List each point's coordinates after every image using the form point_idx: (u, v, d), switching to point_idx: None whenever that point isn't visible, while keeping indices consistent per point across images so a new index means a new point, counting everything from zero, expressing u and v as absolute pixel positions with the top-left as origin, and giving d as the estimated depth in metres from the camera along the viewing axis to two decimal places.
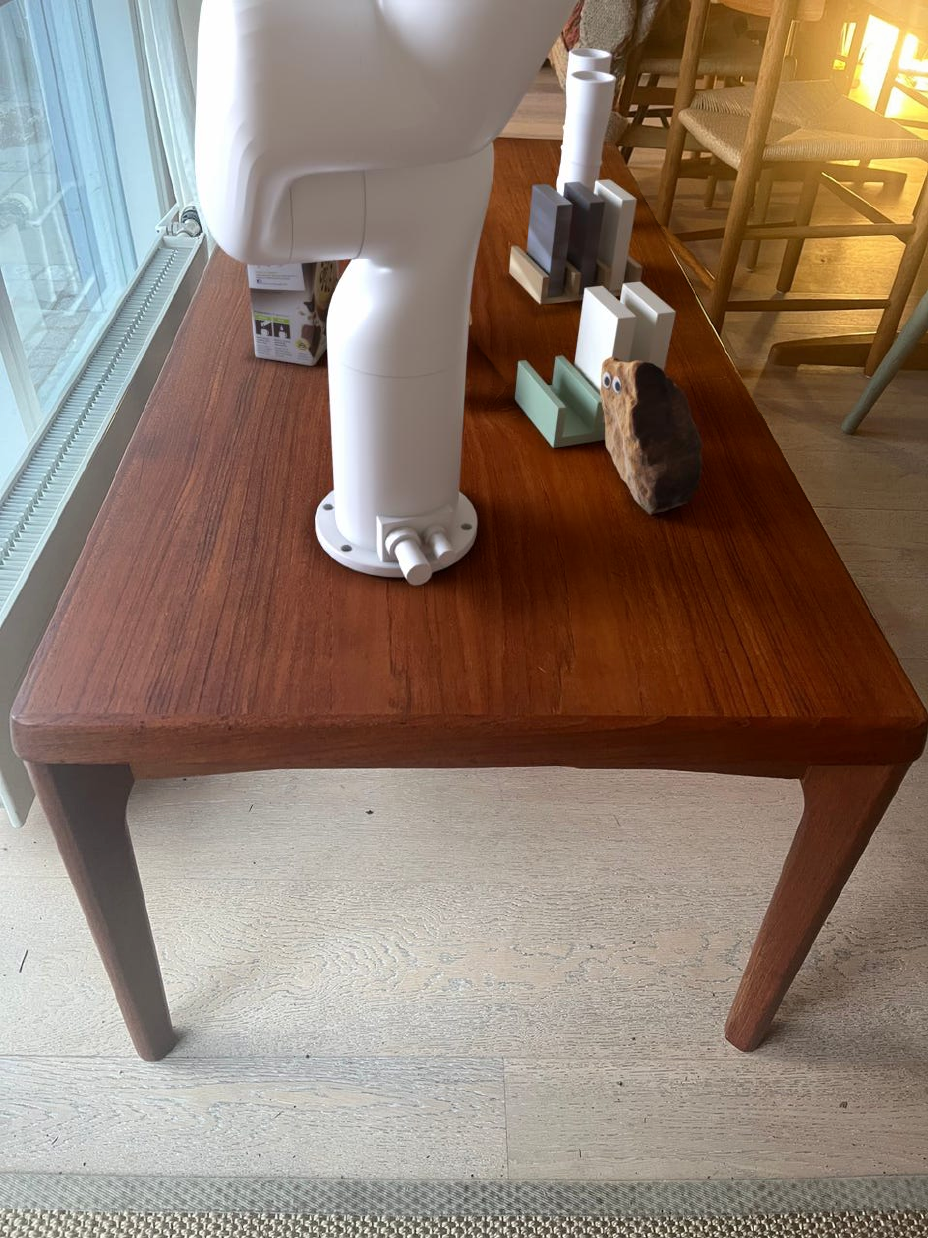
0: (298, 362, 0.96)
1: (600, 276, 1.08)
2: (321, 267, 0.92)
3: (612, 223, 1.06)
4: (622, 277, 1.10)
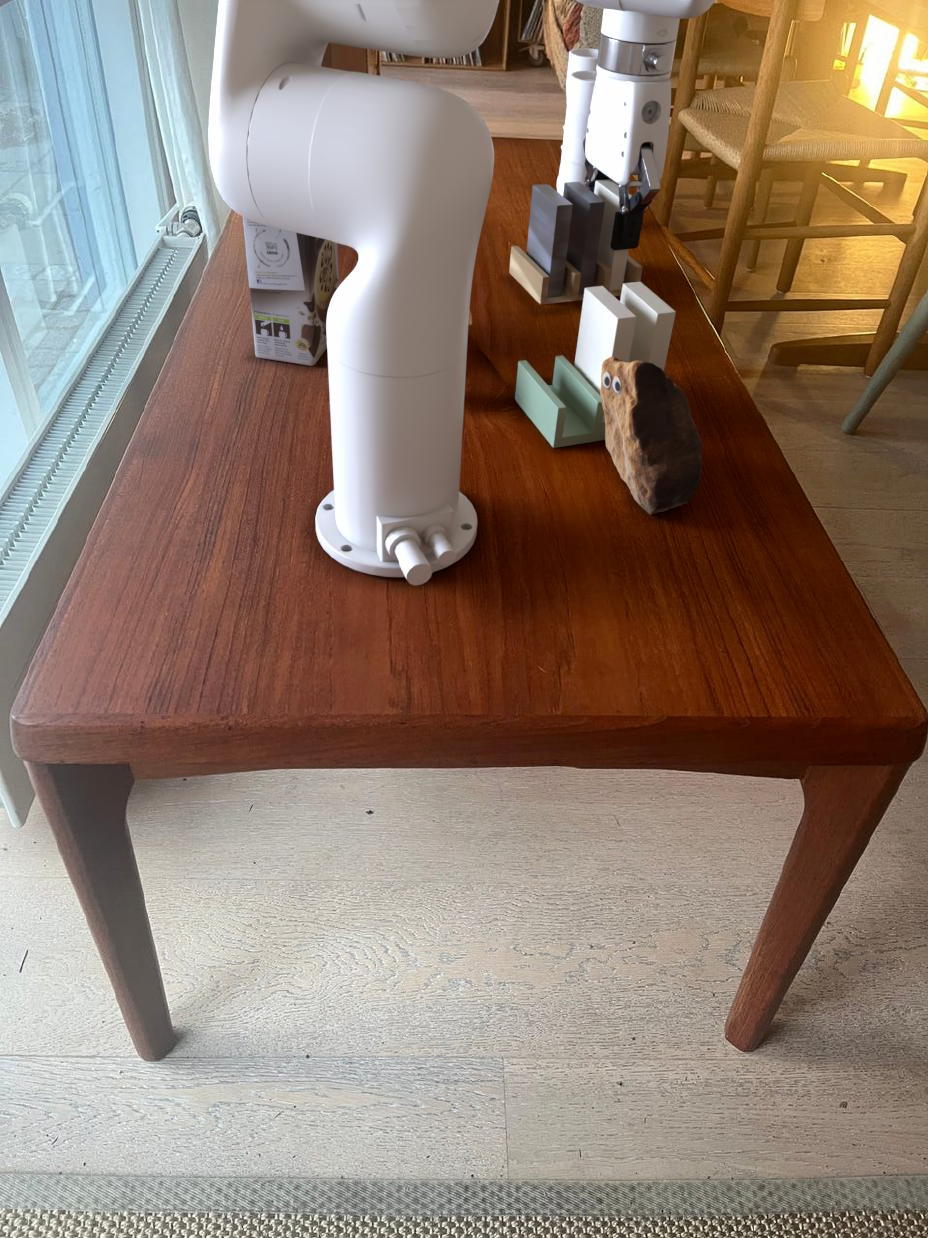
0: (298, 362, 0.96)
1: (600, 276, 1.08)
2: (321, 267, 0.92)
3: (612, 223, 1.06)
4: (622, 277, 1.10)
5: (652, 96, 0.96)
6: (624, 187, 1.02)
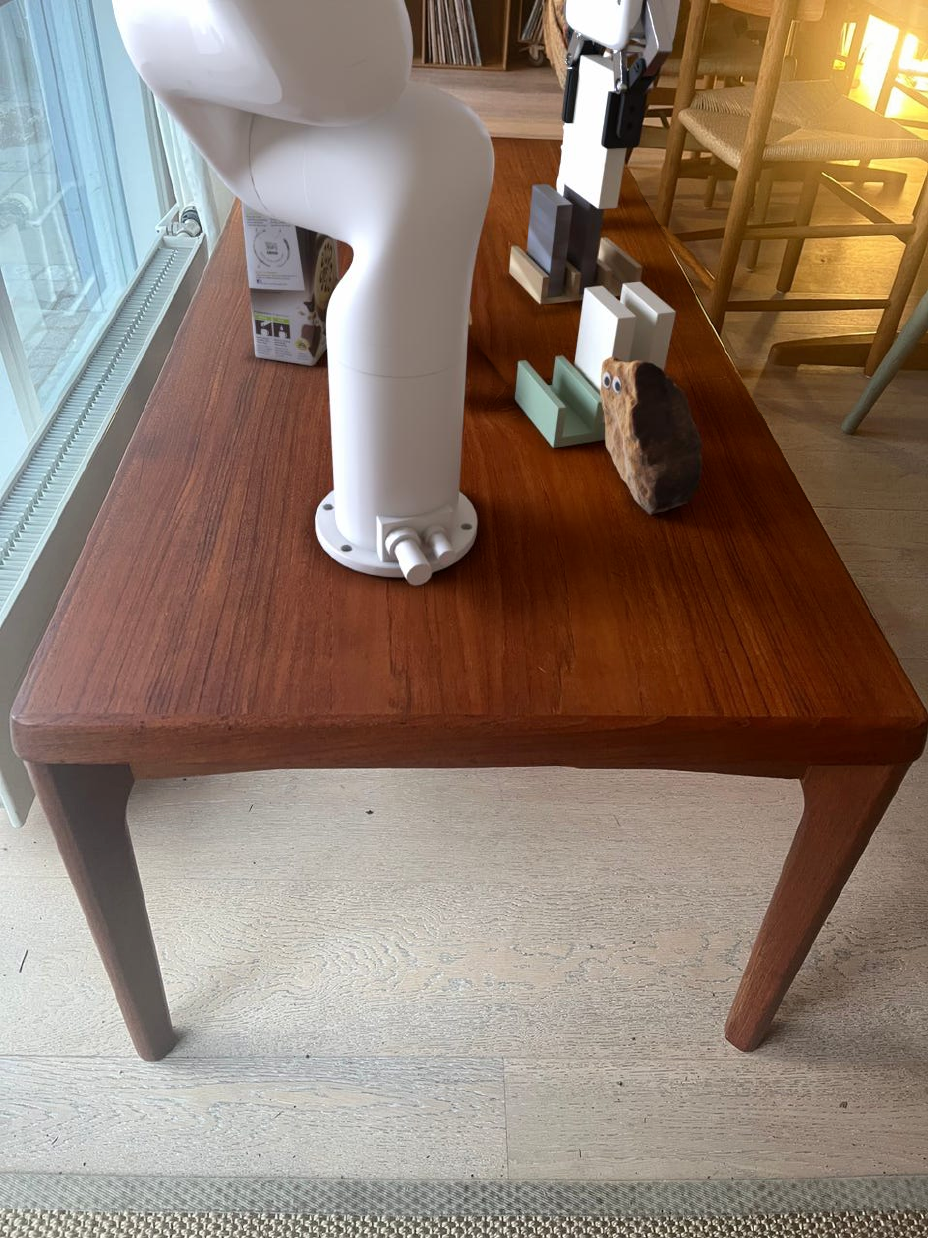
0: (298, 362, 0.96)
1: (600, 276, 1.08)
2: (321, 267, 0.92)
3: (604, 111, 0.77)
4: (617, 190, 0.80)
5: None
6: (621, 53, 0.72)
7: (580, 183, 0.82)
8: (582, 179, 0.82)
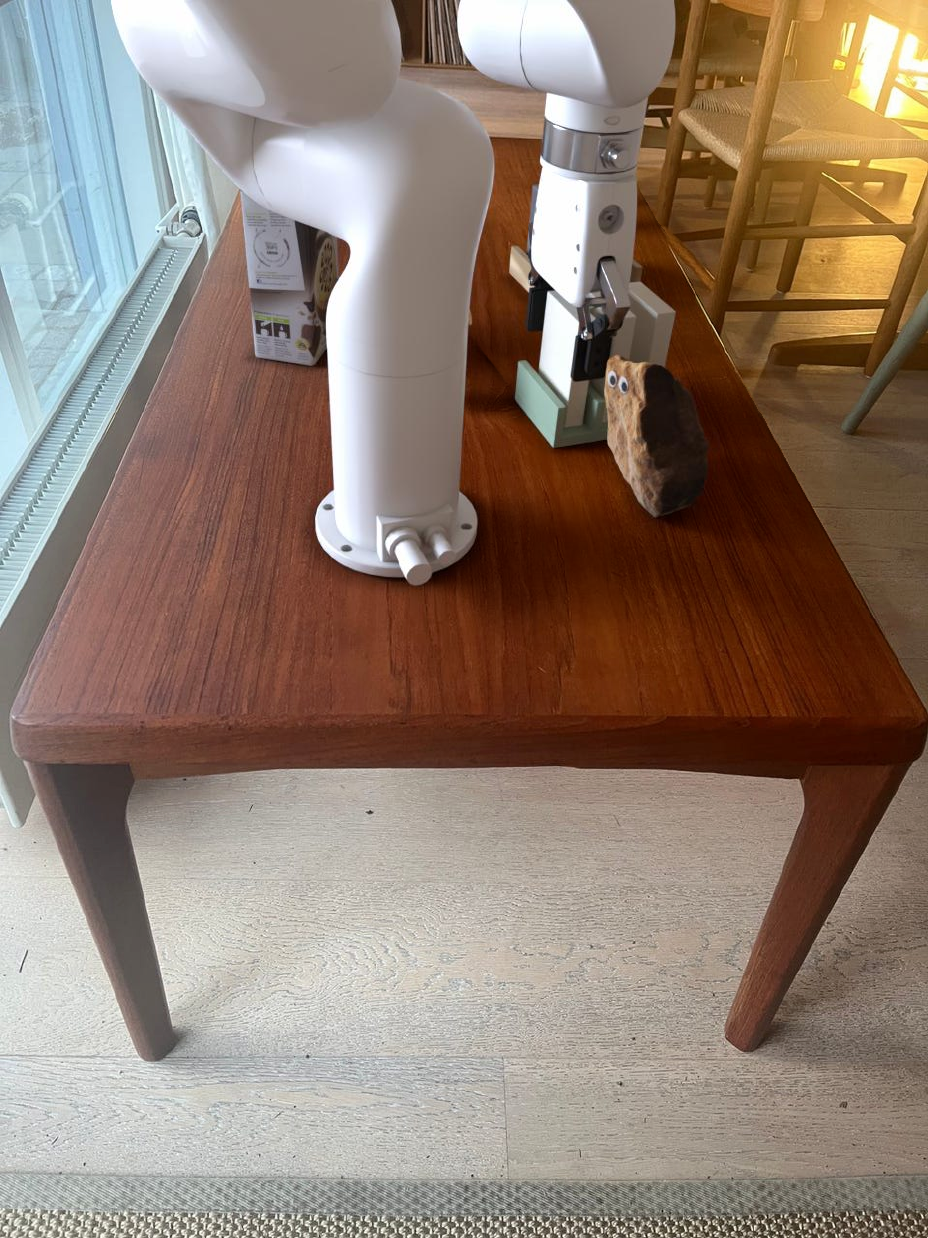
0: (298, 362, 0.96)
1: None
2: (321, 267, 0.92)
3: (567, 348, 0.84)
4: (582, 411, 0.87)
5: (612, 200, 0.73)
6: (583, 306, 0.78)
7: None
8: None
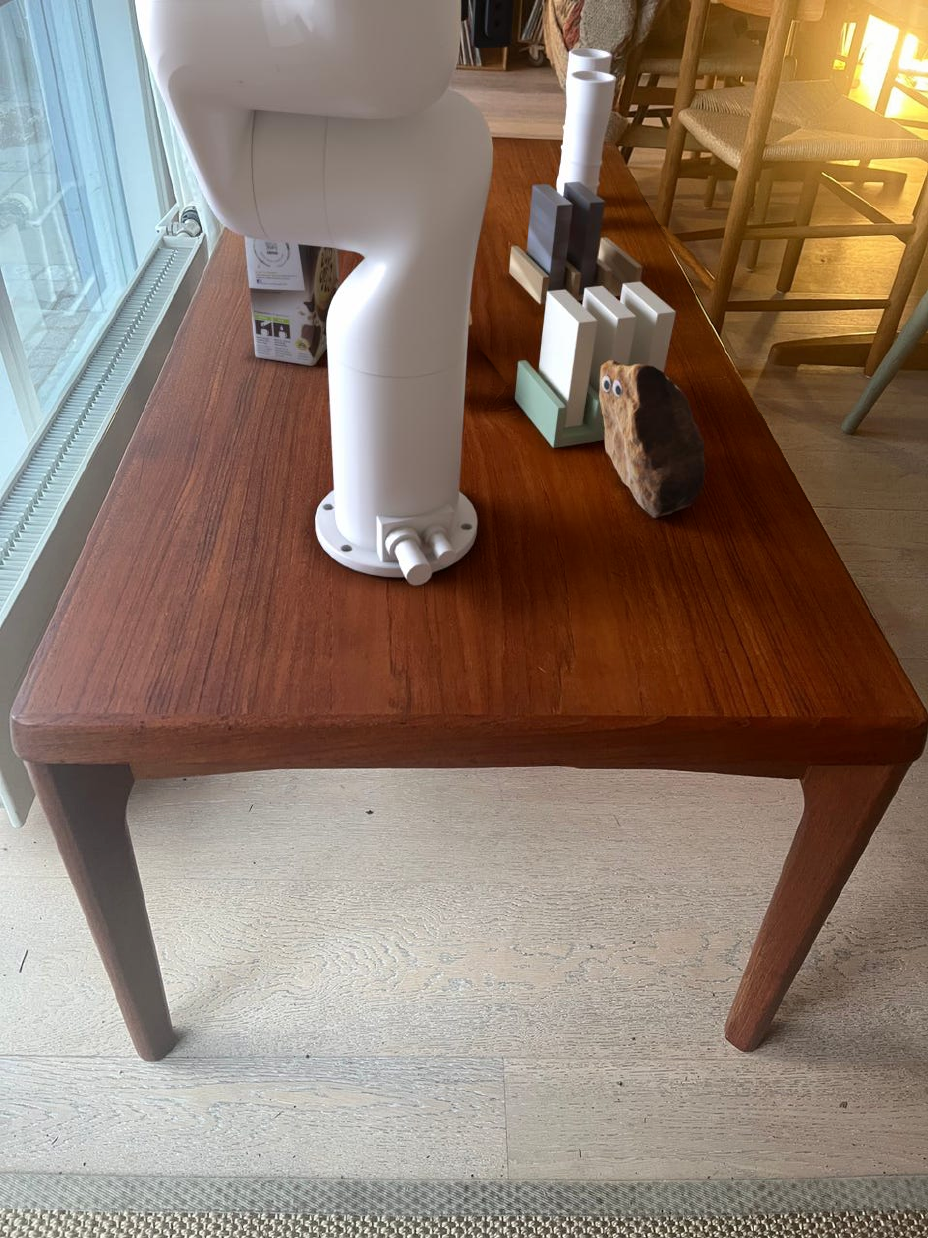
0: (298, 362, 0.96)
1: (600, 276, 1.08)
2: (321, 267, 0.92)
3: (567, 348, 0.84)
4: (582, 411, 0.87)
5: None
6: None
7: None
8: None
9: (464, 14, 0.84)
